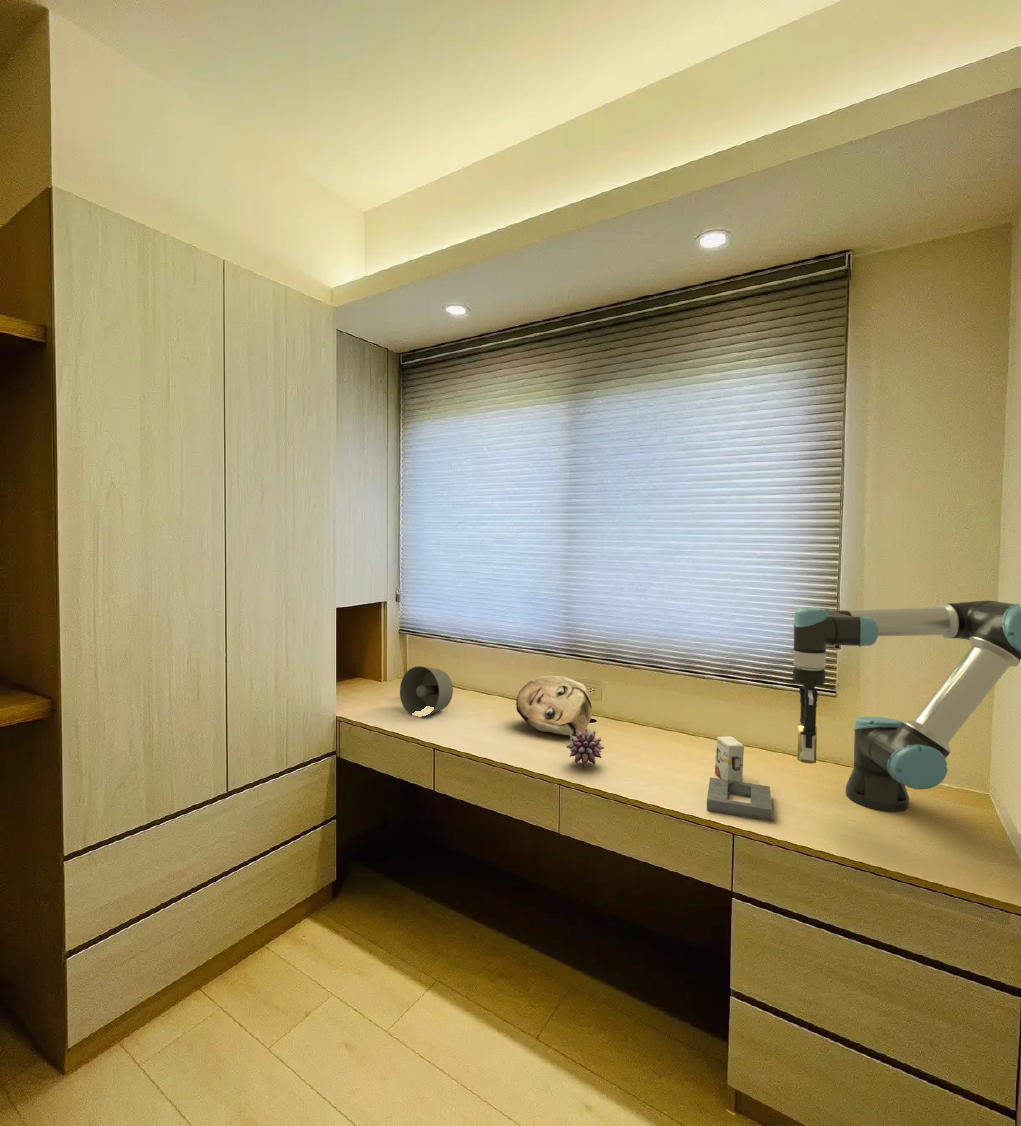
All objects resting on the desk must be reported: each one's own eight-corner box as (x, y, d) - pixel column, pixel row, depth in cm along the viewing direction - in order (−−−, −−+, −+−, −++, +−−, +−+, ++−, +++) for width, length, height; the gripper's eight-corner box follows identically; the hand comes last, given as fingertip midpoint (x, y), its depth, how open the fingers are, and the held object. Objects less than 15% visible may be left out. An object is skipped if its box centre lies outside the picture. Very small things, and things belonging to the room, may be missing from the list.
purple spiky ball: (590, 775, 179) (590, 737, 179) (559, 765, 187) (559, 728, 187) (610, 765, 188) (611, 728, 187) (580, 756, 196) (580, 720, 196)
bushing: (815, 758, 154) (815, 724, 154) (817, 764, 150) (818, 729, 150) (796, 756, 156) (797, 723, 156) (798, 762, 152) (798, 727, 152)
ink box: (714, 773, 182) (715, 736, 182) (729, 773, 183) (730, 735, 183) (727, 785, 174) (728, 745, 173) (743, 784, 174) (744, 745, 174)
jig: (769, 796, 166) (769, 786, 166) (772, 821, 151) (772, 810, 151) (709, 787, 172) (710, 777, 172) (706, 810, 157) (706, 799, 157)
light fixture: (439, 667, 234) (476, 665, 257) (390, 664, 247) (430, 662, 270) (437, 719, 231) (475, 712, 254) (388, 714, 244) (428, 708, 267)
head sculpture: (520, 739, 232) (581, 756, 215) (503, 714, 222) (566, 730, 206) (544, 693, 245) (604, 706, 228) (530, 668, 235) (591, 679, 218)
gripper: (790, 660, 162) (788, 743, 163) (795, 672, 146) (793, 765, 146) (821, 662, 159) (819, 747, 160) (830, 675, 143) (827, 770, 144)
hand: (806, 756), depth 153 cm, fingers closed on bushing, 4 cm apart
